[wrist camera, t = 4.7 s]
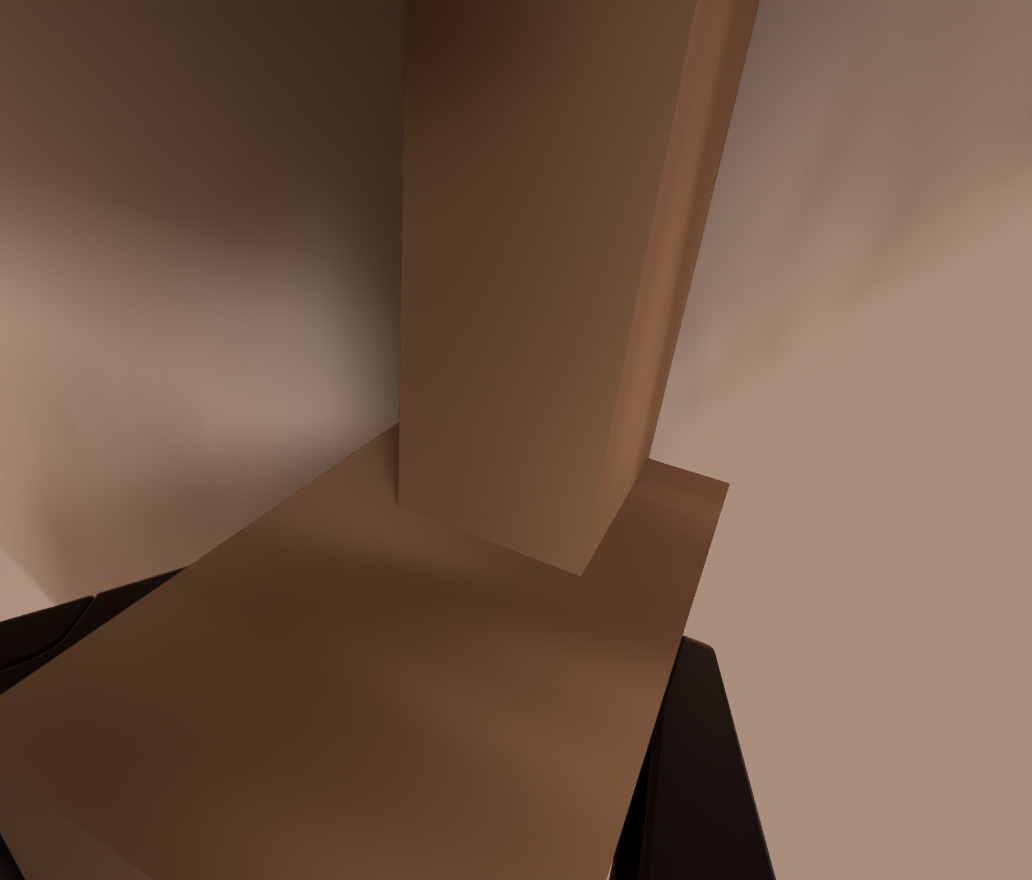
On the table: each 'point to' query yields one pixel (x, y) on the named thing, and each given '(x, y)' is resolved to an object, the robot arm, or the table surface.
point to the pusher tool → (439, 512)
